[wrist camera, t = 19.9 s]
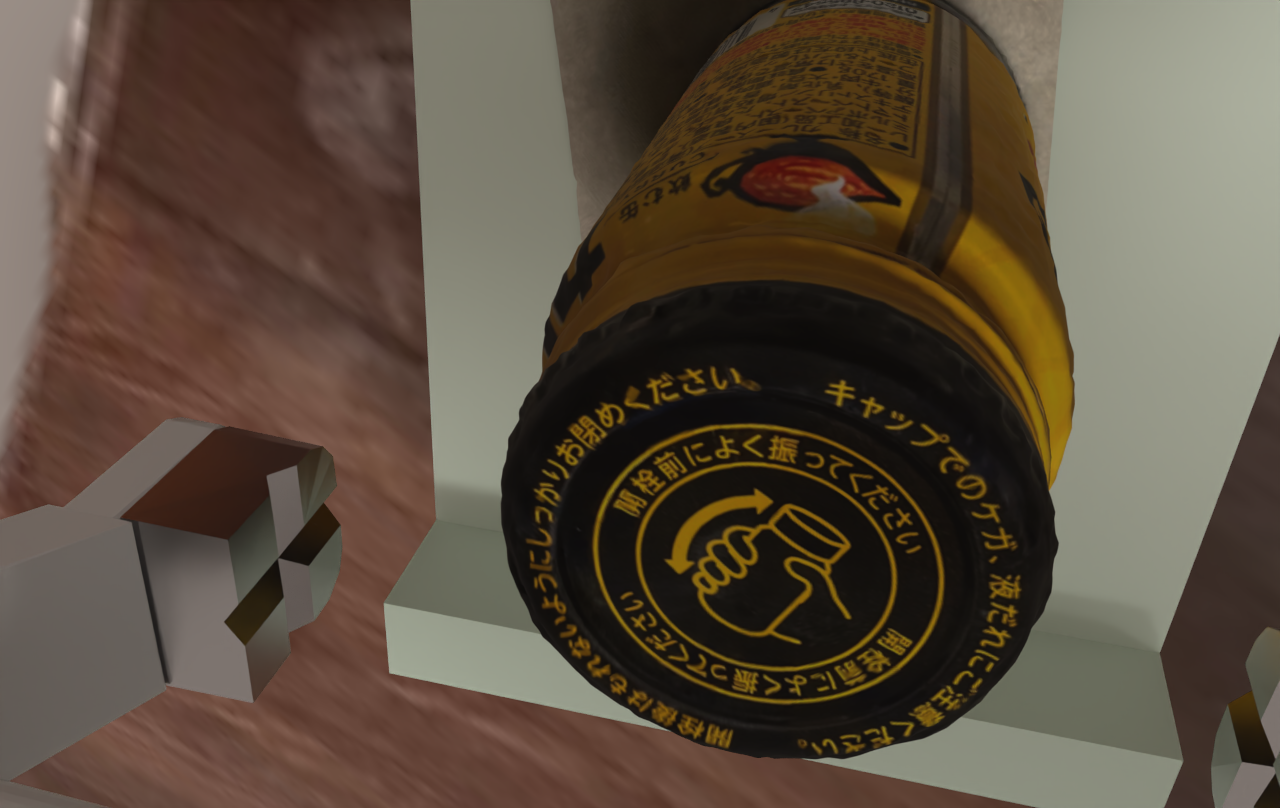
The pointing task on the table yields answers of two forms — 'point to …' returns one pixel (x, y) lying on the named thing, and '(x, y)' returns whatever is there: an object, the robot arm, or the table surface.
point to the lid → (1098, 332)
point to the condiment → (798, 367)
